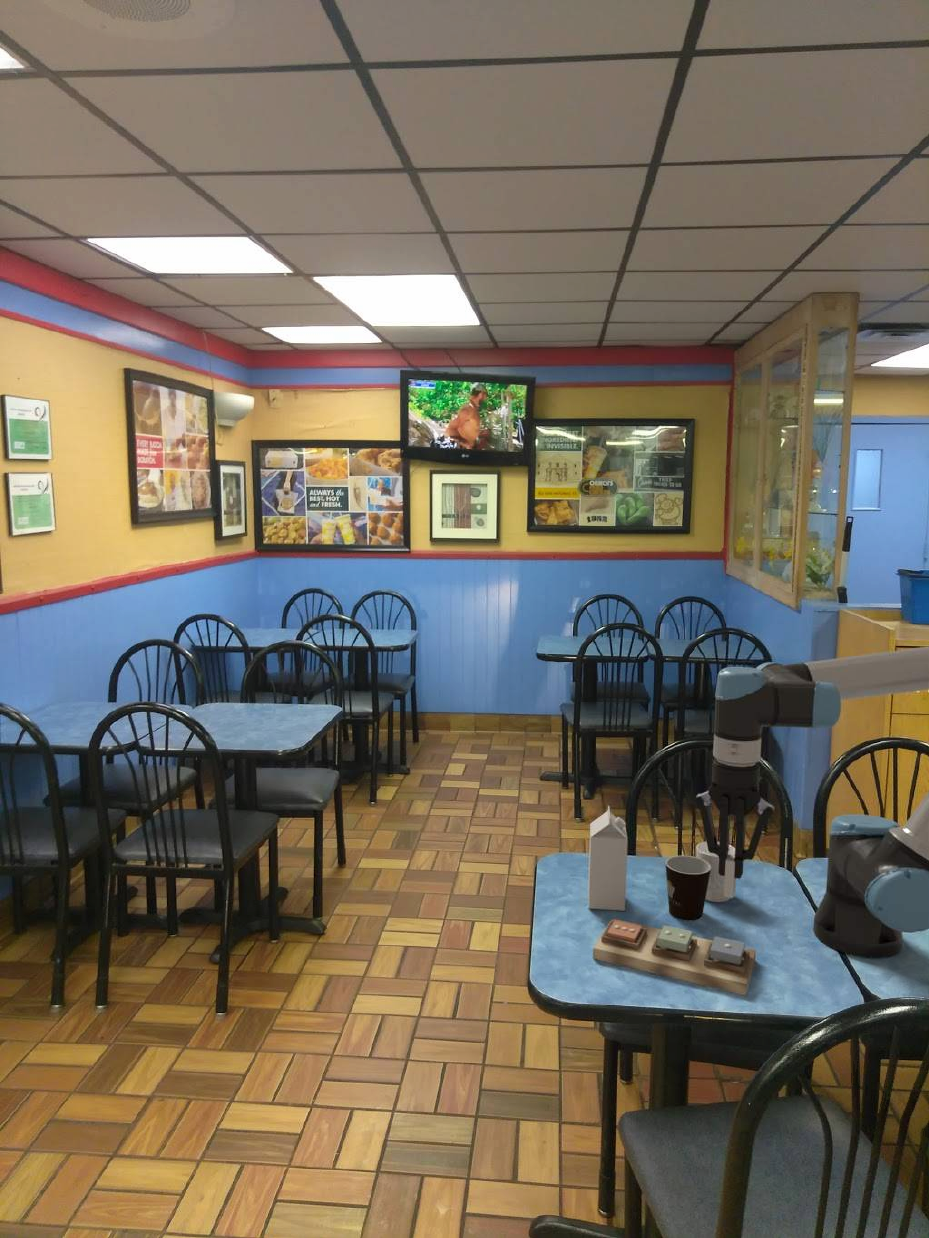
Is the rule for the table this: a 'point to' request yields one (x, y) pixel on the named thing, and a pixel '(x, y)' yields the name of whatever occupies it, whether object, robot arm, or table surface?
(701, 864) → the coffee mug
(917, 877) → the robot arm
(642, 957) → the keypad board
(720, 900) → the white cup
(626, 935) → the key three dots
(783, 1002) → the table surface
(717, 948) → the key one dot
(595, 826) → the milk carton
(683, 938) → the key two dots
